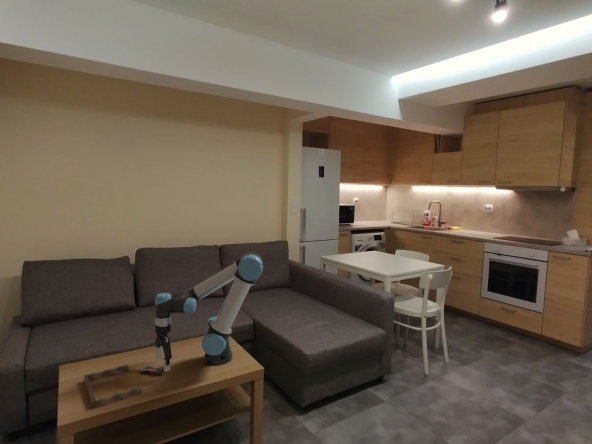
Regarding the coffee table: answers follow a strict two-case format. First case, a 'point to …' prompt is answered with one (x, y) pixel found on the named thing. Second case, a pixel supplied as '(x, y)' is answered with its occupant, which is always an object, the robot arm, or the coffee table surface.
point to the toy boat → (154, 370)
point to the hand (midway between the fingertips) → (163, 365)
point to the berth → (112, 398)
